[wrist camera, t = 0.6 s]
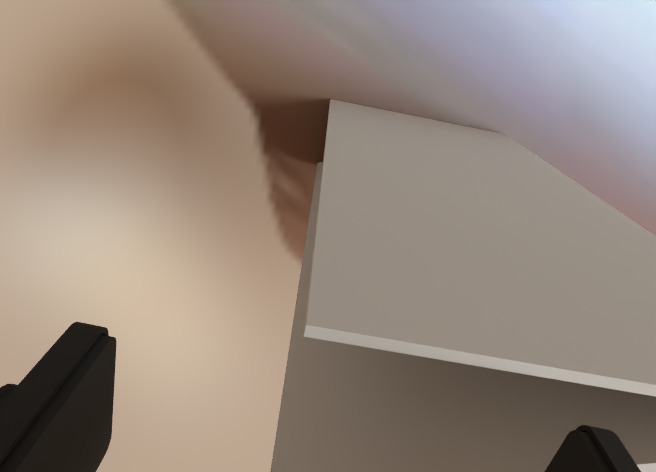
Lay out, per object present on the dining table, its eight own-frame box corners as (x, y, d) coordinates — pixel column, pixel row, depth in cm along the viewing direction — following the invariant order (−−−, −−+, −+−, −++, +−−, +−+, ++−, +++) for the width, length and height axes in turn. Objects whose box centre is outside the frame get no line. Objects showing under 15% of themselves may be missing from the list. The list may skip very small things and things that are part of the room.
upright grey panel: (316, 166, 39) (265, 507, 12) (329, 98, 37) (302, 323, 9) (482, 198, 40) (798, 586, 12) (504, 134, 37) (951, 436, 10)
